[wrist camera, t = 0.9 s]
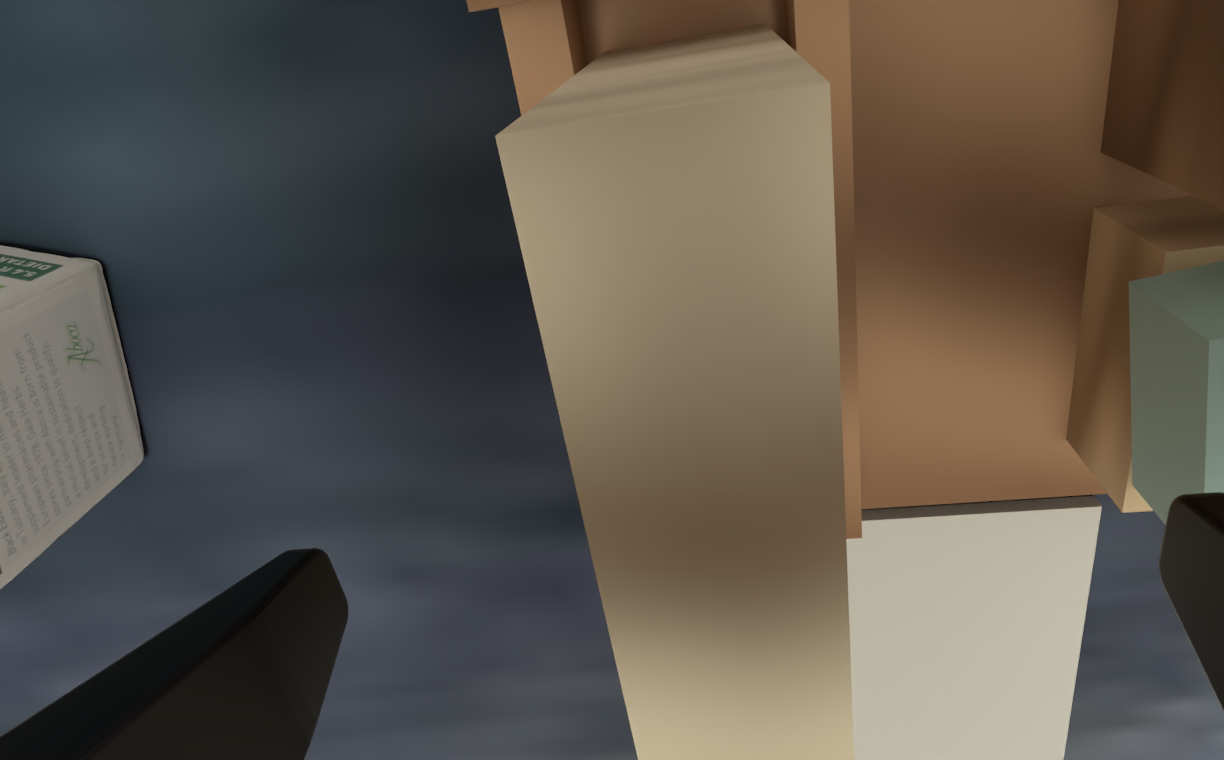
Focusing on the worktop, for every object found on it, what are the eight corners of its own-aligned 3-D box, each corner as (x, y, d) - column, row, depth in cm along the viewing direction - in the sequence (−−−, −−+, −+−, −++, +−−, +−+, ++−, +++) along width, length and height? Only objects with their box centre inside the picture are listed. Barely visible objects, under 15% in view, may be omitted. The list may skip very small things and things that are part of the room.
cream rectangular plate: (1052, 778, 22) (1058, 791, 22) (769, 779, 23) (770, 791, 23) (1094, 495, 17) (1101, 506, 17) (739, 517, 19) (740, 528, 18)
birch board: (795, 459, 17) (855, 797, 10) (671, 469, 18) (646, 797, 11) (764, 23, 13) (830, 82, 6) (605, 51, 14) (495, 136, 7)
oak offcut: (1224, 427, 16) (1309, 501, 13) (1065, 439, 16) (1122, 512, 14) (1280, 184, 13) (1391, 226, 11) (1093, 207, 14) (1165, 251, 12)
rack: (1298, 464, 16) (1411, 557, 14) (616, 509, 19) (602, 595, 16) (1507, -265, 11) (1762, -340, 8) (501, -58, 13) (451, -65, 11)
